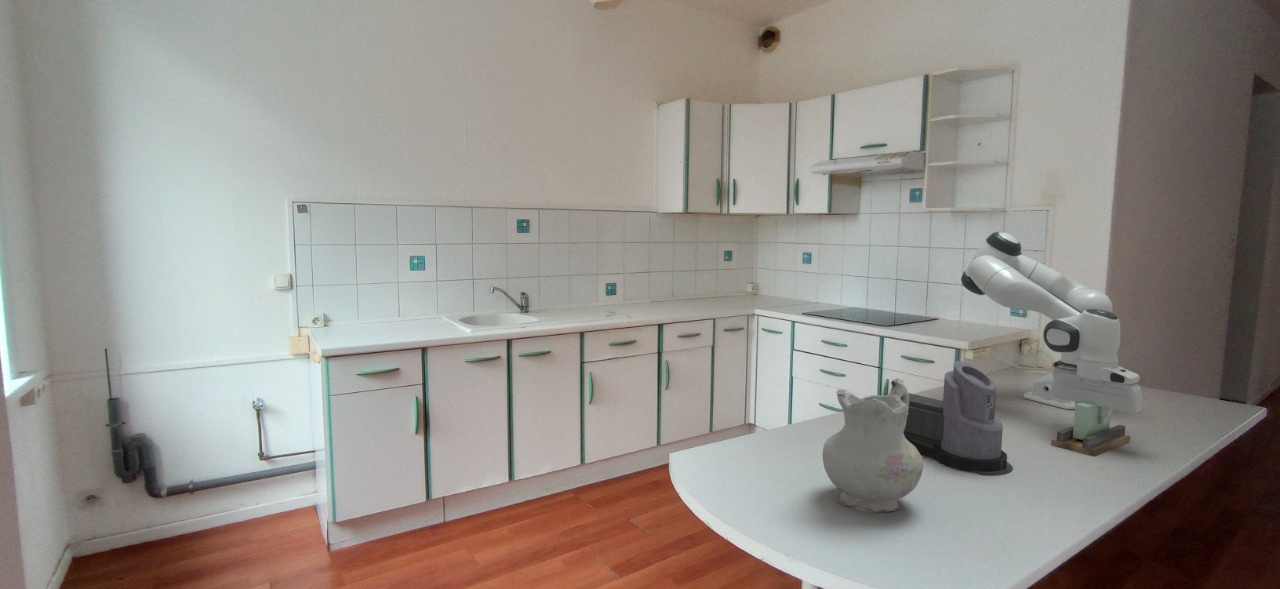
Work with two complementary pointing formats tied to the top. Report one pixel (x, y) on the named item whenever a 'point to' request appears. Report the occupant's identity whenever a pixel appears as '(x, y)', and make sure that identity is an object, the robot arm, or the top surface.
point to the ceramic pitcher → (873, 451)
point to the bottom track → (1092, 440)
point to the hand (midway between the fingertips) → (1092, 421)
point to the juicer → (960, 424)
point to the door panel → (1088, 420)
